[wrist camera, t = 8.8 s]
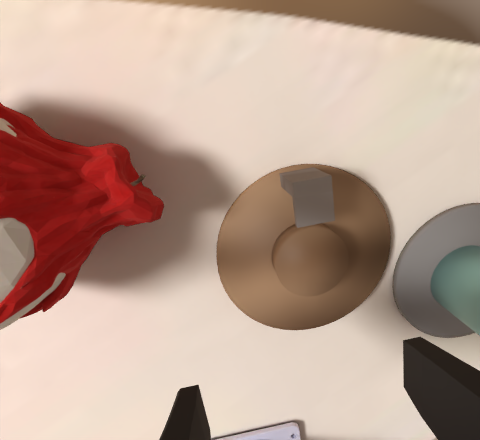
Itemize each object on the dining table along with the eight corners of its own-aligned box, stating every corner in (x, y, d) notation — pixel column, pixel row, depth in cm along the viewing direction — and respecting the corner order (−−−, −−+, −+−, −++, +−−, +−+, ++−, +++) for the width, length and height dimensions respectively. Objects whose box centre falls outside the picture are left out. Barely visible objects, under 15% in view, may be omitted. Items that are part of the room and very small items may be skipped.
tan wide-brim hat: (387, 306, 23) (418, 338, 20) (232, 339, 23) (237, 377, 19) (383, 148, 20) (419, 154, 16) (200, 182, 19) (199, 196, 16)
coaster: (520, 317, 25) (527, 322, 24) (393, 344, 24) (398, 350, 24) (535, 190, 22) (544, 192, 21) (391, 218, 21) (396, 221, 21)
